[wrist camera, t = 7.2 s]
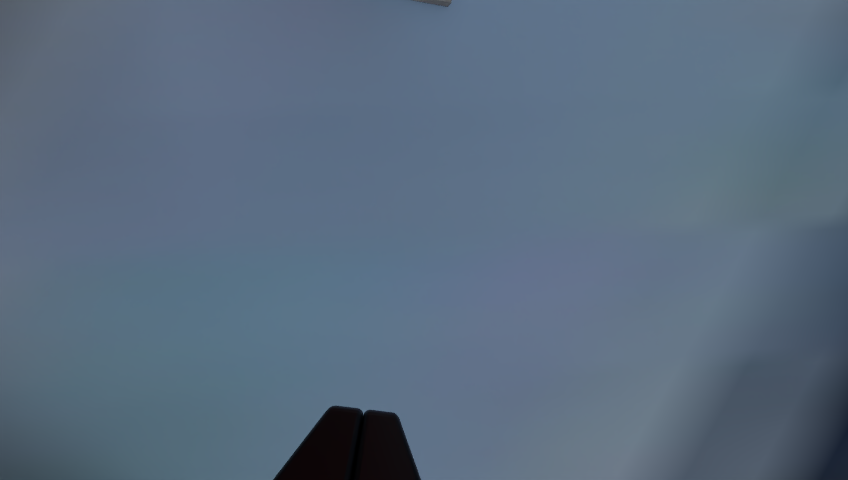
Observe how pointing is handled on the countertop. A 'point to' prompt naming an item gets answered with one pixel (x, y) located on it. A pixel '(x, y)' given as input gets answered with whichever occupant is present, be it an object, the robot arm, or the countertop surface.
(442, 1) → the mat
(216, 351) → the countertop surface
